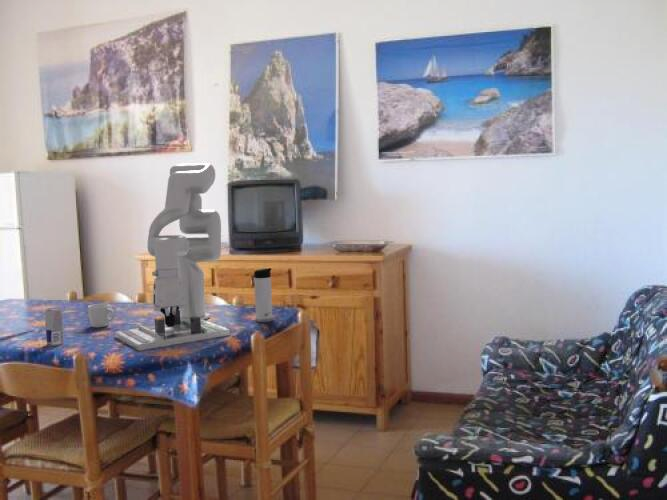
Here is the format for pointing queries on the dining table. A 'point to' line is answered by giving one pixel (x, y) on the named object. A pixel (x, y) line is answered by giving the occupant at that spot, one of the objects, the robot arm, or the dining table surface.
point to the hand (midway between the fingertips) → (170, 326)
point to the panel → (171, 333)
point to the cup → (100, 315)
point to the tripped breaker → (159, 324)
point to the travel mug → (263, 295)
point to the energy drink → (54, 326)
